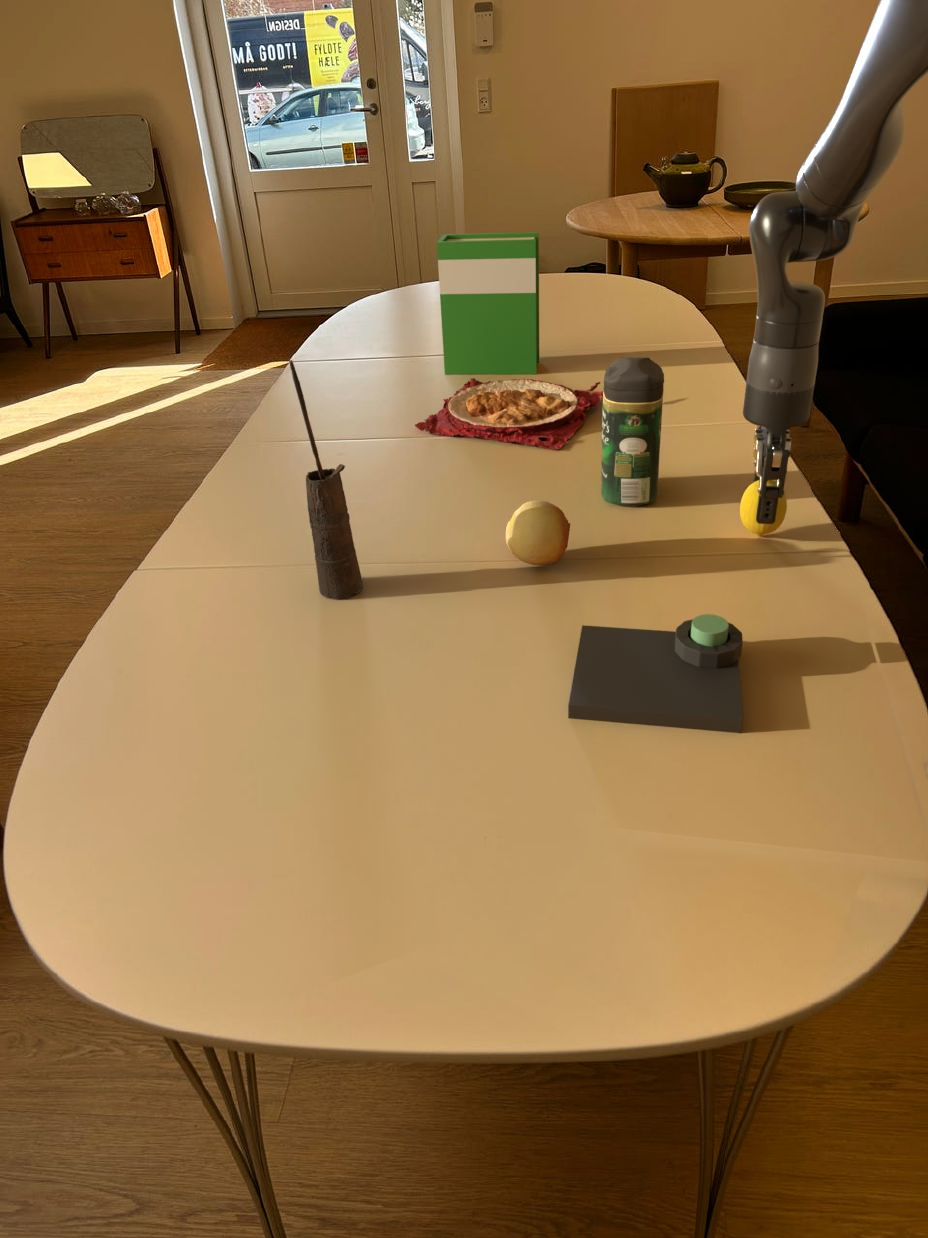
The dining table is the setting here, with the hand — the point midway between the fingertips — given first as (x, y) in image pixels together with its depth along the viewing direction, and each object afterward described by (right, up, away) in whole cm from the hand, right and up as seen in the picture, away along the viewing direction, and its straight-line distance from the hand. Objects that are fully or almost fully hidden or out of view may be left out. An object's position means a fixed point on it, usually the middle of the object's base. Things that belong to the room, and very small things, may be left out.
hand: (762, 508), depth 116 cm
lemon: (0, -3, +2) cm, 4 cm away
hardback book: (-32, +35, +65) cm, 81 cm away
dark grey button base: (-18, -20, -23) cm, 35 cm away
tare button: (-13, -16, -22) cm, 30 cm away
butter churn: (-51, -10, -3) cm, 52 cm away
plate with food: (-29, +21, +42) cm, 55 cm away
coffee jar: (-14, +4, +15) cm, 21 cm away
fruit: (-28, -7, -1) cm, 29 cm away
